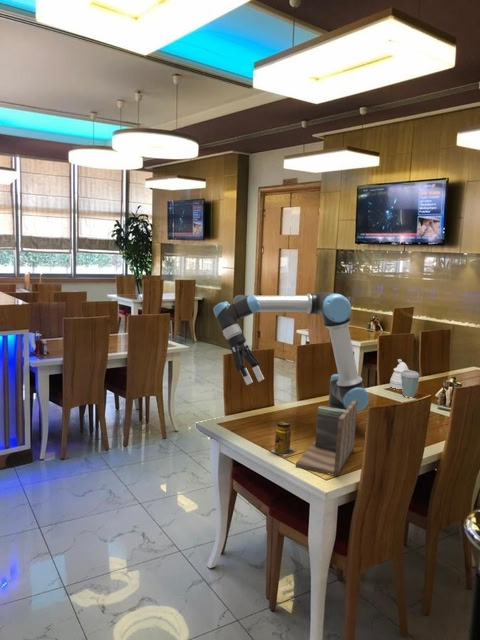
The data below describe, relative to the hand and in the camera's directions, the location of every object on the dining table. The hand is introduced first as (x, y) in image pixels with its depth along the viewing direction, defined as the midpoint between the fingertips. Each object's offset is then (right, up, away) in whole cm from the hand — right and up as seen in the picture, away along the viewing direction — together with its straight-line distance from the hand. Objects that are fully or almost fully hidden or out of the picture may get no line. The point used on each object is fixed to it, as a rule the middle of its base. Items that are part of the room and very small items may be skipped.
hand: (255, 382), depth 207 cm
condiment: (+11, -27, -6) cm, 30 cm away
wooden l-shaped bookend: (+27, -29, -11) cm, 41 cm away
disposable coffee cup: (+92, -19, +84) cm, 126 cm away
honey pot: (+94, -17, +104) cm, 141 cm away
